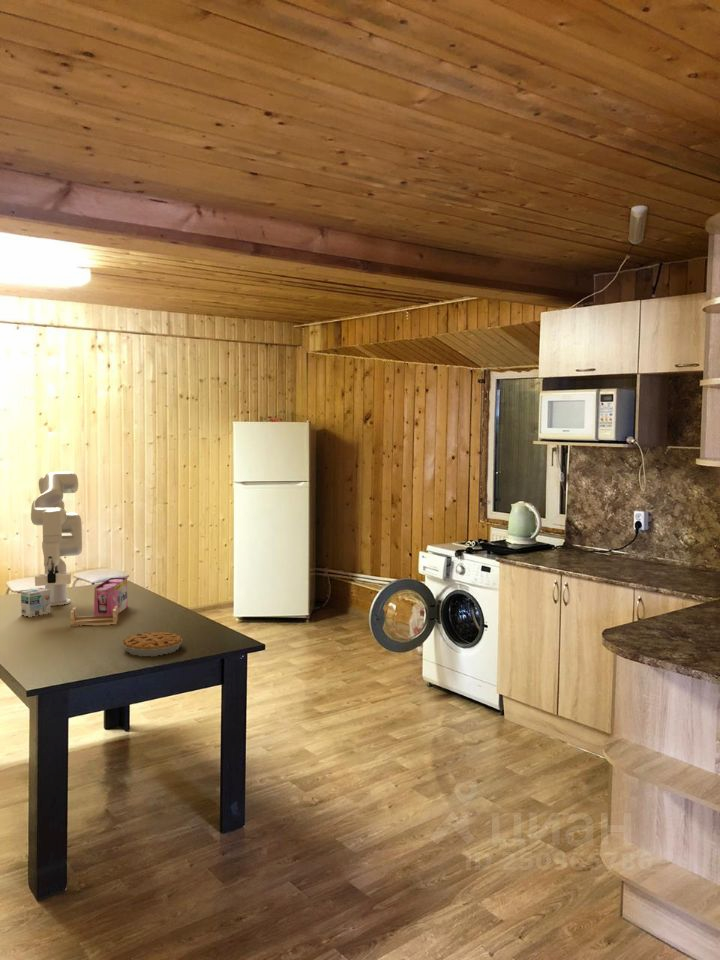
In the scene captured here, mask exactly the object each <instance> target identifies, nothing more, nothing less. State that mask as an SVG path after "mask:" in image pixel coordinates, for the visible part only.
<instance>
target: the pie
mask: <svg viewBox="0 0 720 960" xmlns="http://www.w3.org/2000/svg"><path fill="white" fill-rule="evenodd" d="M182 643H183V638H182V636H181V635H178V634H177V632H174V633H170V632H168V631H164V632H161V631H154V632H143V633H135V634H134V635H129V636H127V638H123V640H122V644H121V645H122V646H123V647H124V650H125V651H126V652H127V653H128V652H129V653H130V654H129V653H128V654H129V655H132V654H134V655H133V656H135V655H138V656H137V657H142V656H151V657H159V656H158V655H160V656H164V655H163V654H166V655H168V653H169V654H171V653H175V652H176V650H177V651H178V650H179V648H180V646H181V644H182Z"/></svg>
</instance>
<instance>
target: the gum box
mask: <svg viewBox="0 0 720 960" xmlns="http://www.w3.org/2000/svg"><path fill="white" fill-rule="evenodd" d="M93 589H94V592H93V593H94V595H93V597H94V598H93V599H94V600H93V601H94V602H93V603H94V605H93V608H94V609H93V611H94V612H93V616H105V615H113V609H114V607H115V606H118V614H120V613H121V612H122V611H124V610H125V609H126V608H128V607H129V606H128V605H129V603H128V577H110V578H108V579H106V580H105V581H103V582H102V583H100V584H98V585H97V586H95V587H94V588H93Z"/></svg>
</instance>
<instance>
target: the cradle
mask: <svg viewBox="0 0 720 960" xmlns="http://www.w3.org/2000/svg"><path fill="white" fill-rule="evenodd" d="M69 616H70V619H69V620H70V621H69V622H70V625H69V626H70V627H83V626H82V625H93V626H111V625H110V624H116V625H117V623H118V621H119V613H118V606H115V607H114V609H113V615H105V616H94V615H84V616H83V615H82V616H77V607H76V606H75V607H74V606H73V607H72V609H71V610H70V615H69ZM79 625H80V626H79Z"/></svg>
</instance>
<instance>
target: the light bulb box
mask: <svg viewBox="0 0 720 960" xmlns="http://www.w3.org/2000/svg"><path fill="white" fill-rule="evenodd" d="M20 607H21V608H20V609H21V610H20V611H21V612H20V613H21V616H22V615H24V616H23V617H26V616H28V617H27V618H33V617H32V616H35V617H39V616H38V615H40V616H44V615H49V614H51V612H52V611H51V606H50V590H49V589H45V587H40V588H33V589H29V590H27V589H26V590H23V591H20ZM48 613H49V614H48ZM43 614H44V615H43Z"/></svg>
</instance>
